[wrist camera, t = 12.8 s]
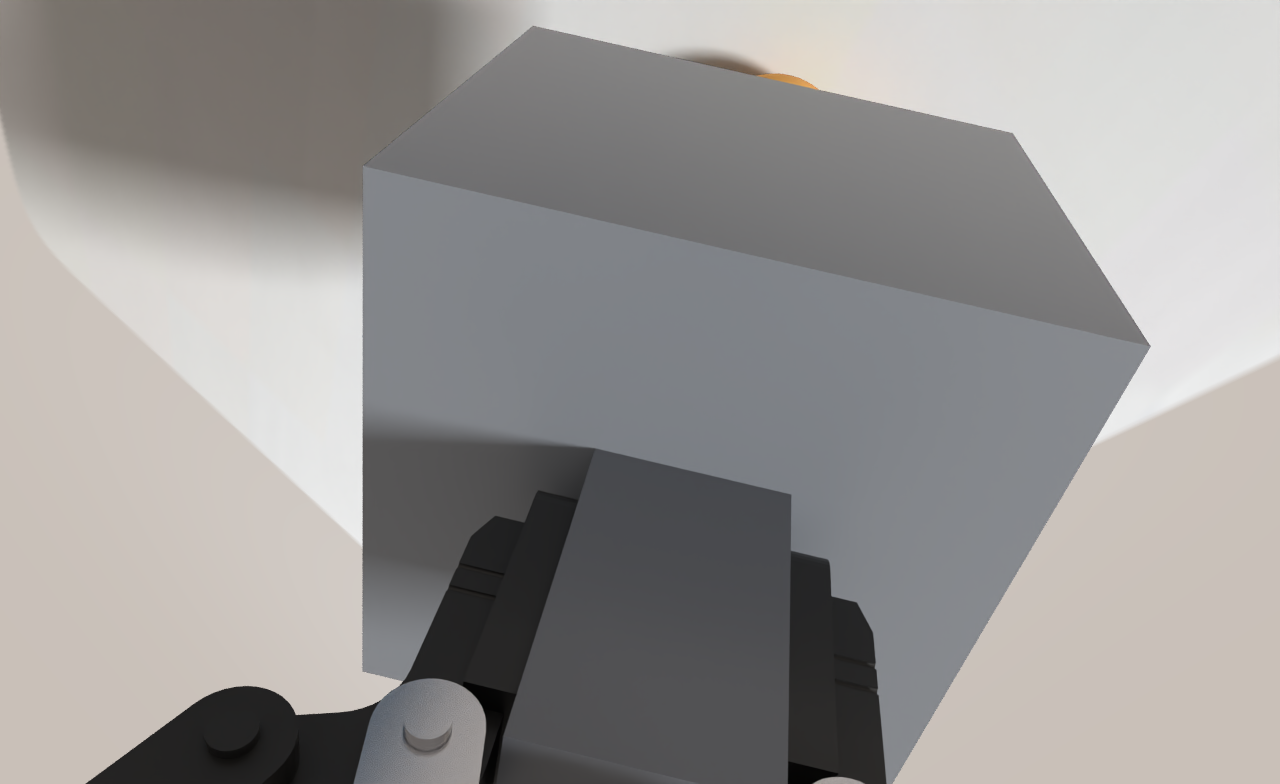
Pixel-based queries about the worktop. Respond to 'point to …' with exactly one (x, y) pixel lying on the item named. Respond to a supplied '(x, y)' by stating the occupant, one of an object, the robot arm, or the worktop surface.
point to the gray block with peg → (715, 390)
